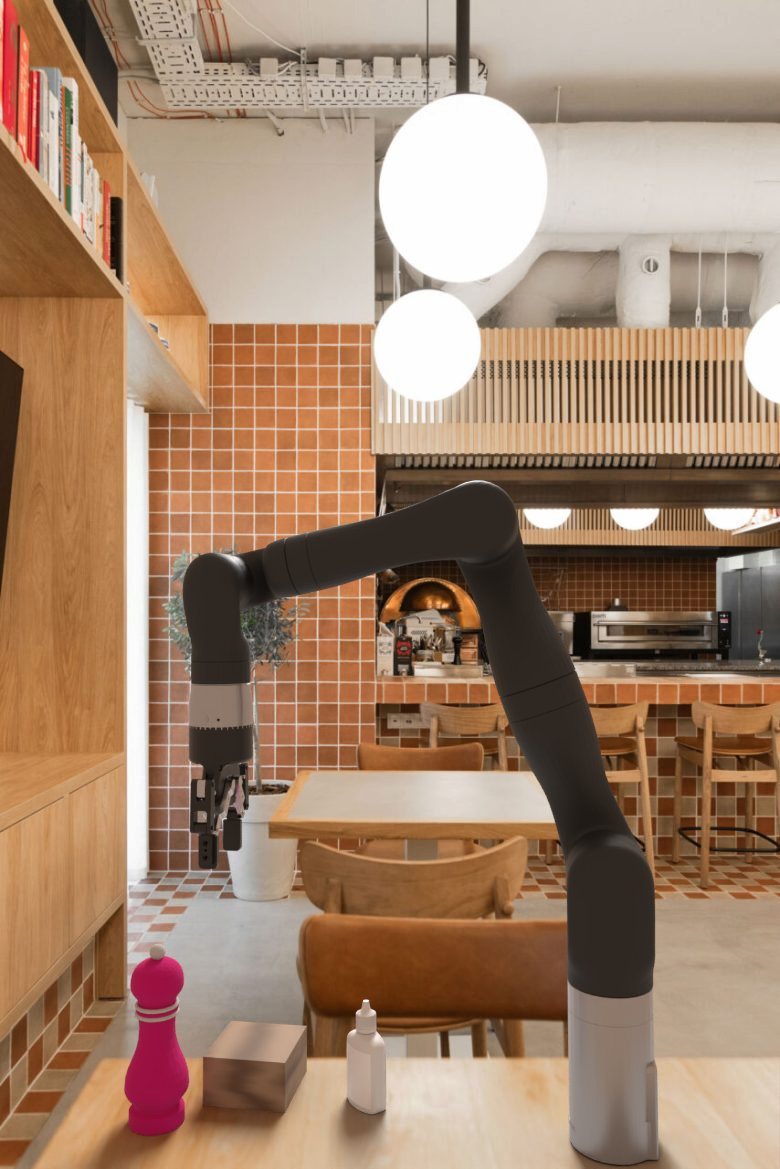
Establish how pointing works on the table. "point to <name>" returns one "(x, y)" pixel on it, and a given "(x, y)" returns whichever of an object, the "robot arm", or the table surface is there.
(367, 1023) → the eye dropper bottle
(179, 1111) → the pepper mill
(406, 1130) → the table surface
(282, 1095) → the walnut box
